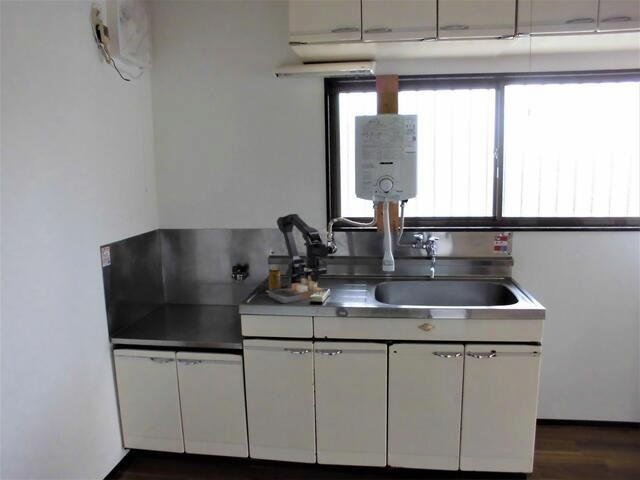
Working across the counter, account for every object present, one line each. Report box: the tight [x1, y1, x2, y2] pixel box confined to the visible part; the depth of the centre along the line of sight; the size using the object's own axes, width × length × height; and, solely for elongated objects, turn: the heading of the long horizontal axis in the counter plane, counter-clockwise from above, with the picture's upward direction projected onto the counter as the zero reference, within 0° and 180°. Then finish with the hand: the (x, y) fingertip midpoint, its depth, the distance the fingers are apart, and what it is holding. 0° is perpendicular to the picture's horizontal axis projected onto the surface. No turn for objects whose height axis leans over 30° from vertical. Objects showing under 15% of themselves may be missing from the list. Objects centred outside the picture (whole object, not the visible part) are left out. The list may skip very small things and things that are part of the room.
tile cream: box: [297, 285, 308, 292], centre depth 224 cm, size 4×4×2 cm
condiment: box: [265, 267, 282, 294], centre depth 234 cm, size 7×8×12 cm
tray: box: [268, 288, 302, 304], centre depth 222 cm, size 16×9×2 cm, turn 33°
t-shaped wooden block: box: [301, 276, 318, 291], centre depth 230 cm, size 12×5×6 cm, turn 33°
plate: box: [284, 286, 325, 301], centre depth 228 cm, size 14×14×3 cm
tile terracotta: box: [292, 283, 302, 290], centre depth 228 cm, size 4×4×2 cm
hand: (312, 285), depth 231 cm, fingers closed on t-shaped wooden block, 3 cm apart
